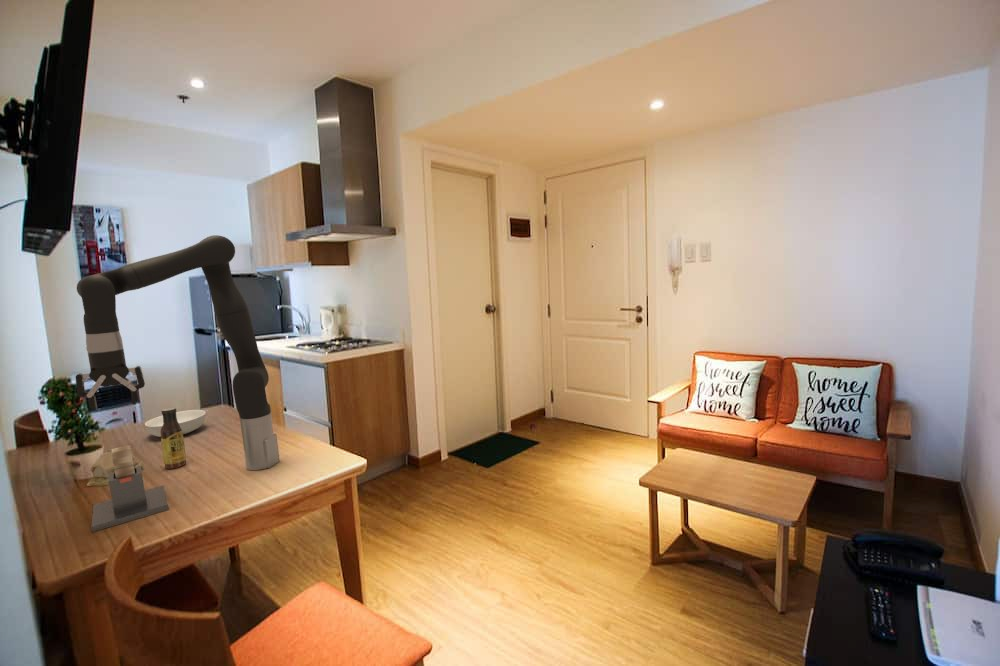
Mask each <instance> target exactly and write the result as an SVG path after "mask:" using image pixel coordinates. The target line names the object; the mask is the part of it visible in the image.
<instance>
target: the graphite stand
mask: <svg viewBox="0 0 1000 666" xmlns="http://www.w3.org/2000/svg"><path fill="white" fill-rule="evenodd" d="M134 469H135V474H132V475H128V476H124V477H120V478H116V476H115V472H113V473H109V485H108V486H109V492H110V497H111V499H108V500H106V501H101V502H98V503H95V504H93V508H92V518H91V531H92V533H94V532H99V531H101V530H105V529H108V528H112V527H115V526H118V525H121V524H122V525H123V524H125V523H127V522H131V521H135V520H138V519H141V518H145V517H147V516H151V515H155V514H159V513H161V512H165V511H167V510H170V508H169V501H168V499H167V494H166V490H165V485H159V486H157V487H154V488H149V489H146V490H145V485H144V478H143V470H141V466H138V467H134Z"/></svg>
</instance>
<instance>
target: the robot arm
mask: <svg viewBox="0 0 1000 666" xmlns="http://www.w3.org/2000/svg"><path fill="white" fill-rule="evenodd" d="M235 254H236V247H235V245H234V243H233V241H232V240H231V239H229V238H228V237H226V236H222V235H210V236H207V237H205V238H204V239H202V240H200V241H199V242H197V243H195V244H193V245H190V246H187V247H184V248H182V249H180V250H176V251H173V252H169V253H166V254H161V255H158V256H154V257H150V258H145V259H143V260H140V261H139V260H138V261H135V262H132V263H129V264H126V265H123V266H120V267H118V268H115V269H111V270H107V271H103V272H99V273H96V274H95V273H94V274H91V275H87V276H84V277H82V278H81V279H80V280H79V281H78V282H77V284H76V292H77V294H78V295H79V297H81V300H82V301H81V302H82V307H83V311H84V314H83V325H84V331H85V345H86V348H85V349H86V351H87V356H88V361H89V362H88V363H89V368H90V372H88V373H82V372H79V373H77V374H76V375H75V386H76V387H75V388H76V396H77V397H78V398H79V397H80V398H83V397H85V398H87V401H88V402H87V403H88V408H89V409H90V410H92V411H93V412H95V411H98V404H97V397H96V395H95V393H97V391H98V390H99V388H100V387H103V388H106V387H107V388H108V387H110V386H111V387H112V386H119V385H123V386H124V387H126V388H128V389H129V390H130V396H131V397H130V398H131V402H132V405H137V403H138V402H139V401H140V400H139V399H140V397H139V391H138V390H140V389H143V388H144V387H145V385H146V383H145V380H144V379H145V378H144V374H143V370H142V367H141V366H140V365H136V366H135V367H130V368H129V367H128V366H127V362H126V357H125V350H124V349H125V348H124V344H123V338H122V336H121V335H122V334H121V332H120V327H119V321H118V320H119V319H118V316H117V312H116V309H117V308H116V305H117V304H116V303H117V302H116V301H117V300H116V296H118V295H119V294H123V293H126V292H129V291H135V290H136V291H137V290H139V289H143V288H147V287H149V286H152V285H156V284H158V283H161V282H163V281H166V280H168V279H171V278H173V277H176V276H178V275H180V274H183V273H186V272H189V271H193V270H196V269H199V268H201V270H202V272H203V274H204V277H205V279H206V283H207V285H208V288H209V289H208V290H209V293H210V298H211V303H212V305H213V309H214V313H215V314H214V315H215V317H216V321H217V324H218V327H219V330H220V332H221V334H222V336H223V337H224V340H225V341H226V343H227V344H228V346H229V347H230V348H231V351H232V353H233V354H234V357H235V361H236V366H237V371H238V372H237V373H235V374H234V376H233V378H232V391H233V398H234V403H235V408H236V410H237V412H238V416H239V423H240V429H241V430H240V431H241V436H242V437H241V438H242V445H243V454H244V460H245V468H246V470H249V471H260V470H265V469H270V468H272V467H273V466H275V465H276V464H277V463H279V462H280V461H281V460H280V459H281V458H280V451H279V443H278V435H277V433H274V426H273V417H272V411H271V410H272V409H271V405H270V404H269V402H268V400H267V399H268V398H267V391H266V387H267V386H268V385H269V380H270V379H269V378H270V377H269V373H268V370H267V367H266V366H265V363H264V361H263V358H262V356H261V353H260V351H259V348H258V344H257V339H256V334H255V330H254V326H253V322H252V318H251V315H250V311H249V308H248V307H249V306H248V304H247V302H246V301H245V298H244V296H243V295H242V294H241V291H240V290H239V289H238V287H237V285H236V283H235V281H234V279H233V276H232V271H231V267H230V262H231V261H232V260H233V259H234V258H235ZM129 373H132V375H133V376H136V381H137V384H135V383H133V382H132V381H131V380H130V379H128V378H127V376H128V375H129ZM88 378H89V379H91V380H93V381H94V382H95V383H94V384H93V385H92V387H91V388H90V390H89V391H86V390H85V382H86V381H87V380H88Z"/></svg>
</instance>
